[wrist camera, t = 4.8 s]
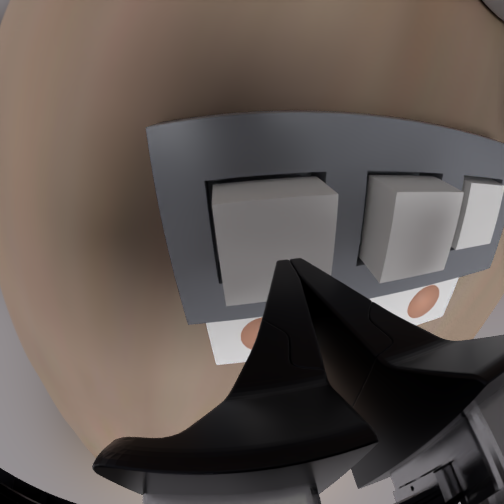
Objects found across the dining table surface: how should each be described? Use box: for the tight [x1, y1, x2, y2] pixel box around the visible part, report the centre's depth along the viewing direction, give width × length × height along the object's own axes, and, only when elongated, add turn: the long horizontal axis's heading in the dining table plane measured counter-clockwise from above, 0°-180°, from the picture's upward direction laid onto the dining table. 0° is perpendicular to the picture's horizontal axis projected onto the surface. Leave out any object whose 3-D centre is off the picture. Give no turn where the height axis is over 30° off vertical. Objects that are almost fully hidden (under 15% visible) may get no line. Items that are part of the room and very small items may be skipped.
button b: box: [451, 175, 504, 250], centre depth 14 cm, size 4×4×2 cm
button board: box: [146, 110, 504, 325], centre depth 14 cm, size 23×10×3 cm, turn 93°
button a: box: [212, 176, 339, 306], centre depth 11 cm, size 4×4×2 cm
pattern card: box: [206, 277, 459, 365], centre depth 20 cm, size 22×6×1 cm, turn 93°
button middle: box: [359, 175, 464, 283], centre depth 12 cm, size 4×4×2 cm
